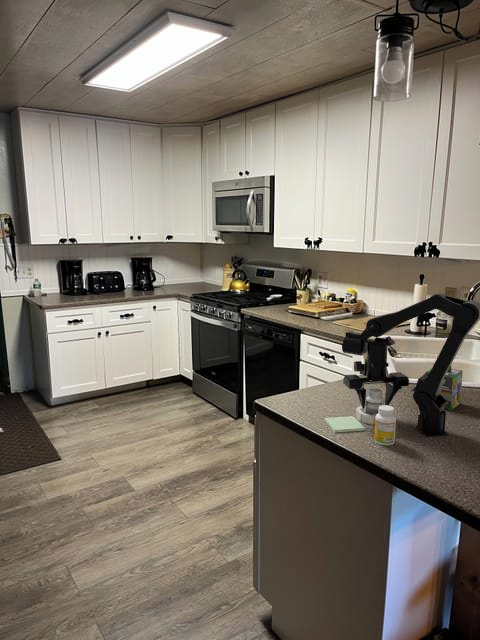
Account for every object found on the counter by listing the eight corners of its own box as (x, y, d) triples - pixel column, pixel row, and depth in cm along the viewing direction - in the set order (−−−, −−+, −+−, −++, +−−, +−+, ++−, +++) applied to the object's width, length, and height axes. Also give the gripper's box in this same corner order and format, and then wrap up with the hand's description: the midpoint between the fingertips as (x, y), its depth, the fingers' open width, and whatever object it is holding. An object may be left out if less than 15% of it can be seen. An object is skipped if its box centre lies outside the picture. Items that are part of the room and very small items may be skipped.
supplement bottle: (379, 435, 134) (380, 402, 132) (398, 441, 130) (399, 407, 129) (370, 442, 130) (372, 408, 128) (390, 447, 126) (392, 412, 124)
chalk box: (461, 404, 158) (464, 360, 155) (451, 411, 151) (454, 366, 149) (433, 397, 164) (436, 355, 161) (422, 404, 158) (425, 361, 155)
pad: (353, 418, 146) (353, 416, 146) (364, 430, 137) (364, 427, 137) (324, 420, 145) (324, 417, 144) (334, 432, 136) (334, 429, 136)
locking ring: (383, 411, 152) (383, 404, 151) (397, 423, 142) (398, 415, 142) (351, 413, 150) (352, 405, 150) (364, 425, 141) (364, 417, 140)
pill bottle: (369, 413, 150) (371, 386, 148) (385, 417, 147) (387, 389, 145) (362, 418, 146) (363, 390, 144) (378, 422, 143) (380, 394, 141)
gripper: (394, 350, 152) (391, 397, 155) (337, 352, 149) (336, 400, 152) (411, 359, 141) (408, 409, 144) (350, 361, 139) (349, 412, 141)
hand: (374, 407), depth 146 cm, fingers open, 7 cm apart
